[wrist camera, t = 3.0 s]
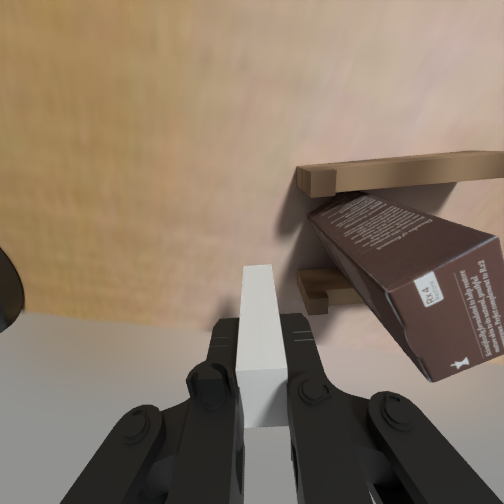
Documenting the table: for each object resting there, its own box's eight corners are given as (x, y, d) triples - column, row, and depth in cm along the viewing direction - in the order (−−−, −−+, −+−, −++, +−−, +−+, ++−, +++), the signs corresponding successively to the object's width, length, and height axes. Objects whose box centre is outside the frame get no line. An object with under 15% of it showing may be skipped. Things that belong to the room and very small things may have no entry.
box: (381, 241, 21) (532, 349, 10) (334, 266, 22) (422, 390, 11) (354, 181, 18) (508, 233, 8) (304, 212, 19) (374, 298, 8)
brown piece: (297, 284, 22) (308, 315, 18) (297, 166, 18) (311, 172, 14) (436, 273, 22) (479, 302, 18) (470, 150, 18) (537, 152, 14)
